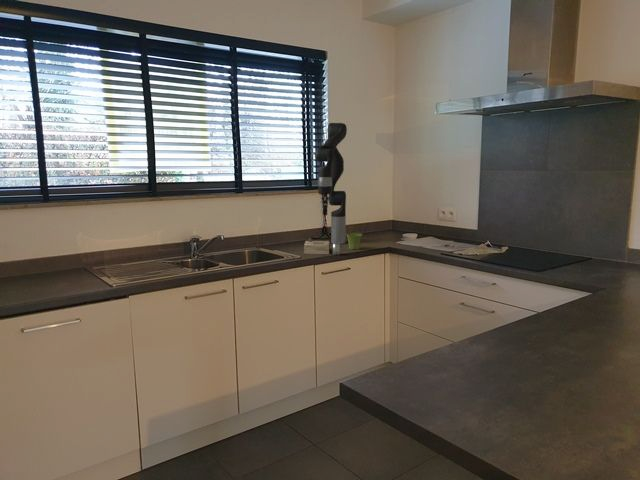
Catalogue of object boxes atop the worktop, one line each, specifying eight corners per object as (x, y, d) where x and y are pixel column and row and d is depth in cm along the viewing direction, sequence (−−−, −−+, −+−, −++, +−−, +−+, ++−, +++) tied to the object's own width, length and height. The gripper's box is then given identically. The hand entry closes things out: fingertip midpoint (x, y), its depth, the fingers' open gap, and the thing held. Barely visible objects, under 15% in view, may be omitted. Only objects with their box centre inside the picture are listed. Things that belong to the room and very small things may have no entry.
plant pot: (354, 251, 272) (354, 236, 271) (343, 248, 280) (343, 234, 278) (365, 249, 278) (365, 234, 277) (354, 247, 285) (354, 233, 284)
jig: (305, 249, 280) (305, 237, 278) (329, 249, 279) (329, 237, 278) (304, 254, 264) (304, 242, 263) (329, 254, 263) (328, 241, 262)
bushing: (332, 253, 264) (332, 243, 263) (339, 253, 264) (339, 243, 263) (332, 255, 260) (332, 244, 259) (339, 255, 260) (339, 244, 259)
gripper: (318, 184, 266) (318, 213, 269) (318, 186, 252) (318, 215, 255) (331, 184, 266) (331, 213, 269) (331, 185, 252) (332, 215, 255)
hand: (325, 214), depth 262 cm, fingers open, 8 cm apart
